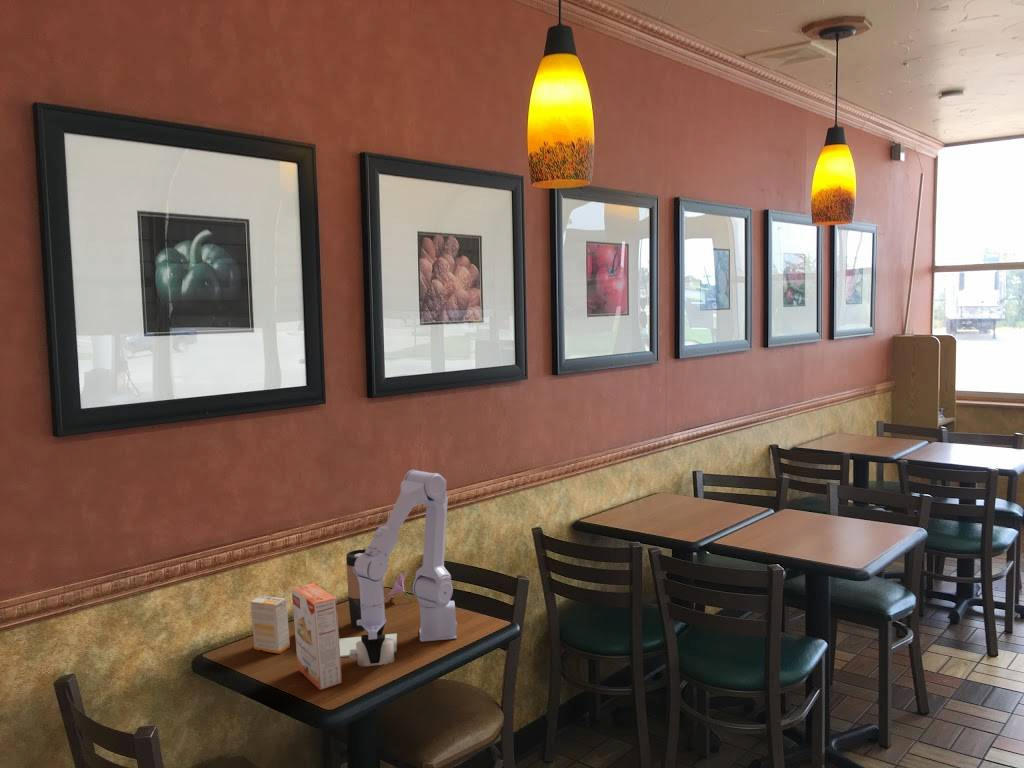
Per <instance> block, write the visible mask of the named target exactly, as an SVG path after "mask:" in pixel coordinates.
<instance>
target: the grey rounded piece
mask: <svg viewBox="0 0 1024 768" xmlns="http://www.w3.org/2000/svg"><path fill="white" fill-rule="evenodd" d="M349 659H350V660H353V659H356V662H357V663H356V664H357V666H359V667H371V666H373V667H374V666H384V665H389V663H390V664H392V663H394V662H395V652H394V646H393V639H391V638H385V639H384V641H383V644H382V647H381V655H380V662H379V663H374V664H371V663H370V660H369V657H368V653H367V650H366V647H365V645H364V644H363V642H362V640H361V641H359V642H357V643H356V649H355V650H350V656H349ZM393 661H394V662H393ZM383 664H384V665H383Z"/></svg>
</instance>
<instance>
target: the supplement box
mask: <svg viewBox="0 0 1024 768" xmlns="http://www.w3.org/2000/svg"><path fill="white" fill-rule="evenodd" d="M249 603H250V611H251V612H250V613H251V625H252V636H253V637H252V639H253V649H254V650H255V649H257V650H256V651H260V650H263V651H262V652H268V653H272V654H273V653H274V654H277V655H278V654H280V653H282V652H284V651H286V650H287V649H289V648H290V647H291V642H290V630H289V629H290V628H289V618H288V608H287V607H288V605H287V604H288V603H287V598H282V597H276V596H268V595H260V596H258V597H256V598H254V599H253V600H250V602H249Z"/></svg>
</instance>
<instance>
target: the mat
mask: <svg viewBox="0 0 1024 768" xmlns="http://www.w3.org/2000/svg"><path fill="white" fill-rule="evenodd" d="M384 635H385V638H391V639H393V646H394V653H397V646H398V645H397V644H398V643H397V641H398V639H397V638H398V633H397V632H396V633H389V634H388V633H387V634H384ZM359 641H361V636H354V637H344V638H340V637H339V646H340V658H347V657H349V658H350V650H355V649H356V643H357V642H359Z"/></svg>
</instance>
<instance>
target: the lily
mask: <svg viewBox="0 0 1024 768" xmlns="http://www.w3.org/2000/svg"><path fill="white" fill-rule="evenodd" d="M409 572H410V570H408V571H406V573H405V574H404V575H403V573H402V572H401V573H400V574H399V576H397V578H396V580H395V582H394V583H393V586H394V587H393V588H392V589H391V590H390V591H389V594H387V595H386V597H384V602H385V601H386V600H387V599H388V598H389V597H391V598H394V596H395V594H400V593H404V594H405V595H406V596H407V597H408V598H409V600H410V602H411V603H413V600H412V599H411V597H410V596H409V594H408V592H406V591H405V587H404V586H405V585H404V583H405V578H406V577H407V575H408V574H409Z"/></svg>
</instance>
